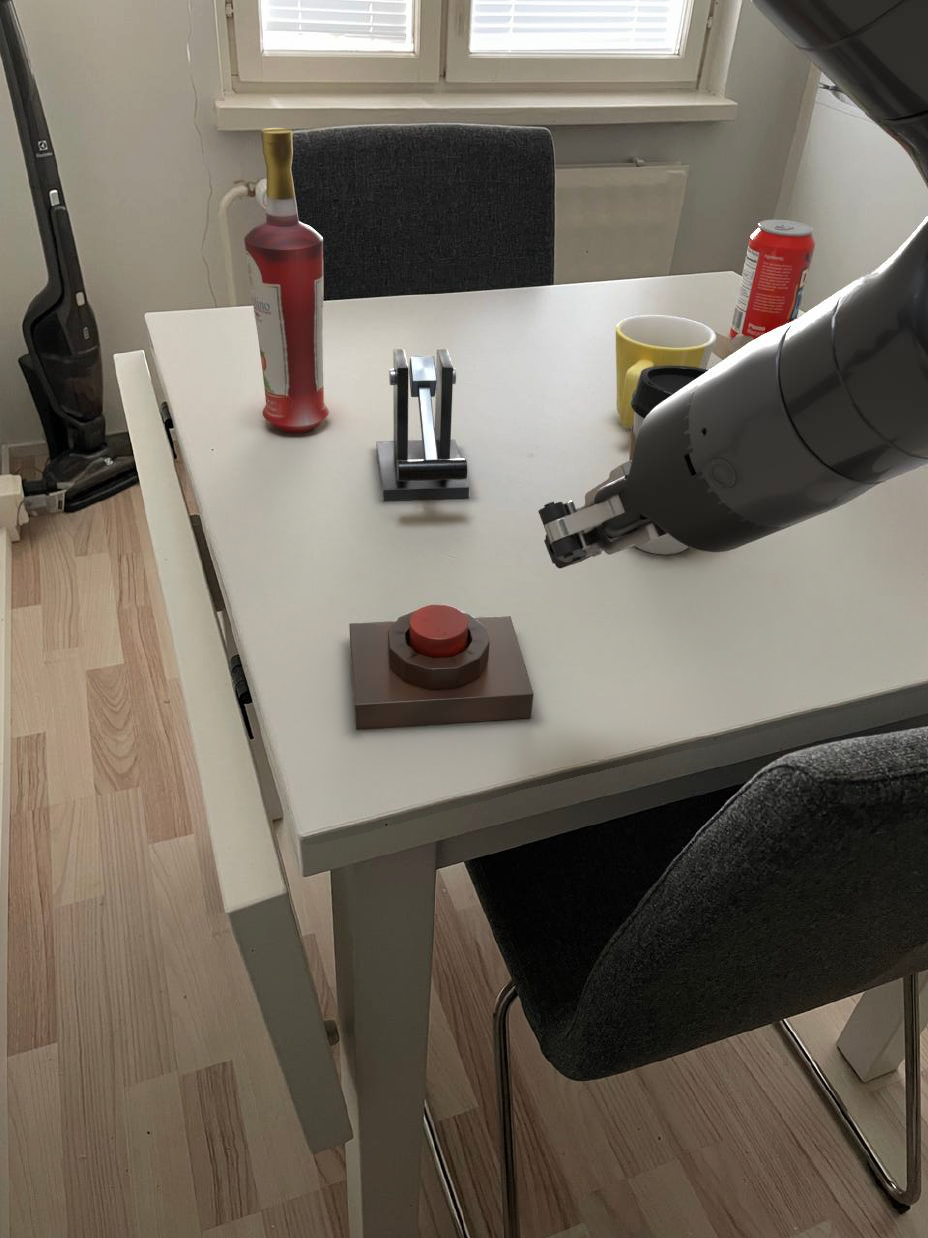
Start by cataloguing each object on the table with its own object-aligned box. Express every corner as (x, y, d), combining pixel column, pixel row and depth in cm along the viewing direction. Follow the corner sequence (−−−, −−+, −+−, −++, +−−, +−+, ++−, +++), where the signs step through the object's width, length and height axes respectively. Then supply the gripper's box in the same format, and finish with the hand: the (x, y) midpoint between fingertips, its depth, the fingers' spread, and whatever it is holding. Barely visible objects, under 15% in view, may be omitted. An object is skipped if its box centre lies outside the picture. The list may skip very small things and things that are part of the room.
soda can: (715, 341, 126) (740, 222, 117) (751, 330, 130) (777, 214, 121) (765, 360, 121) (794, 237, 112) (800, 347, 126) (831, 228, 117)
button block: (355, 729, 64) (354, 684, 62) (350, 646, 71) (348, 603, 69) (531, 718, 66) (536, 673, 63) (508, 638, 73) (512, 595, 70)
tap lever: (465, 485, 84) (468, 470, 82) (397, 487, 84) (398, 472, 81) (452, 372, 89) (454, 355, 87) (388, 372, 88) (389, 356, 86)
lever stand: (468, 498, 90) (474, 378, 83) (383, 501, 89) (382, 380, 82) (454, 449, 98) (459, 337, 91) (376, 451, 97) (375, 337, 90)
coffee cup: (592, 523, 87) (615, 364, 78) (669, 506, 90) (699, 352, 81) (644, 570, 81) (674, 405, 72) (724, 551, 84) (763, 390, 75)
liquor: (252, 415, 102) (223, 124, 86) (316, 404, 105) (301, 121, 88) (274, 443, 97) (249, 140, 80) (341, 431, 100) (330, 136, 83)
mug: (636, 396, 111) (650, 306, 104) (714, 424, 105) (734, 330, 99) (566, 432, 102) (577, 336, 96) (647, 464, 97) (665, 365, 91)
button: (412, 661, 64) (412, 640, 63) (407, 625, 68) (407, 605, 67) (470, 657, 65) (472, 637, 64) (463, 622, 68) (464, 602, 67)
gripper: (838, 332, 43) (623, 465, 59) (613, 384, 37) (440, 516, 53) (899, 486, 43) (667, 579, 58) (682, 564, 37) (487, 644, 52)
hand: (559, 549), depth 55 cm, fingers closed
